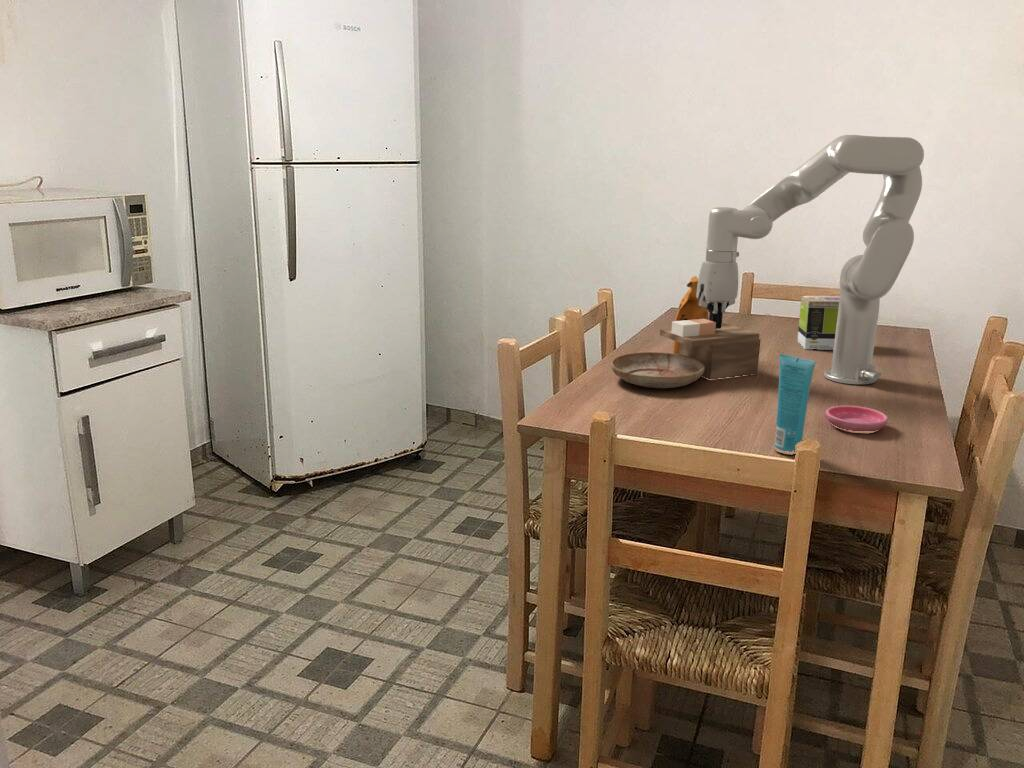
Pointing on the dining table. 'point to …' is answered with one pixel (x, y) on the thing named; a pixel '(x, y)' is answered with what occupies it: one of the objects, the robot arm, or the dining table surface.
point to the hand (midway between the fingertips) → (714, 327)
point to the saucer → (856, 418)
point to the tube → (792, 400)
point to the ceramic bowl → (657, 369)
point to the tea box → (818, 322)
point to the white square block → (685, 328)
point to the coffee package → (690, 308)
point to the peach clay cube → (705, 326)
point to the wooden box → (722, 351)
